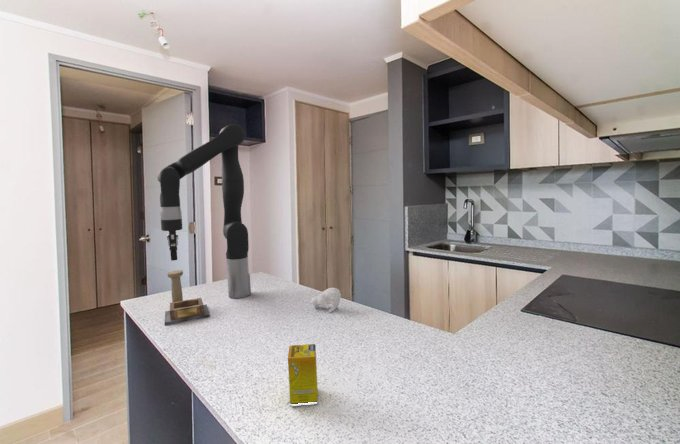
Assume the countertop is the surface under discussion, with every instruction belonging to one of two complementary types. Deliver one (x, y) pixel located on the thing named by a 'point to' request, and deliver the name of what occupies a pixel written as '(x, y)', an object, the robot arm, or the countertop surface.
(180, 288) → the handle
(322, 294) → the white animal figurine
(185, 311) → the socket
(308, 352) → the supplement box
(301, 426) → the countertop surface
